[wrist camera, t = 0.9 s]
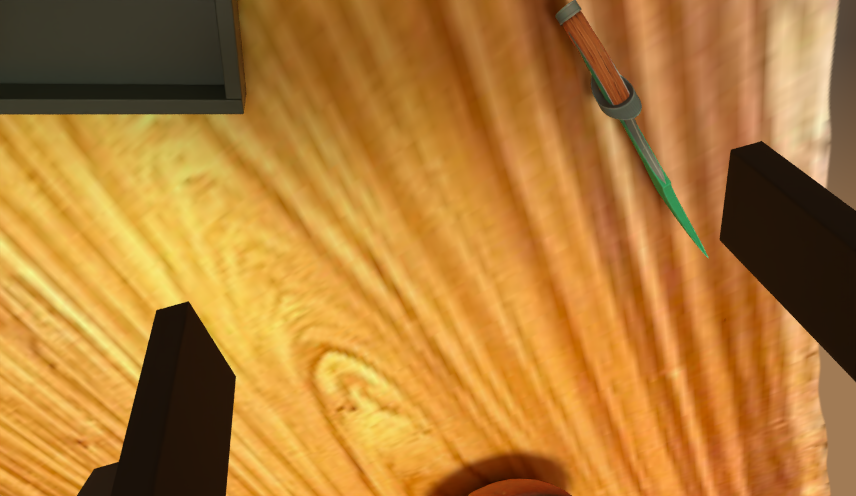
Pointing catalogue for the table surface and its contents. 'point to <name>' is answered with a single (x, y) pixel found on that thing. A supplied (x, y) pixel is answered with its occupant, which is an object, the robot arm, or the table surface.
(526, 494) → the bowl
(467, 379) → the table surface
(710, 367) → the table surface
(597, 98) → the knife
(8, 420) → the table surface
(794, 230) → the robot arm
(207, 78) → the tray
